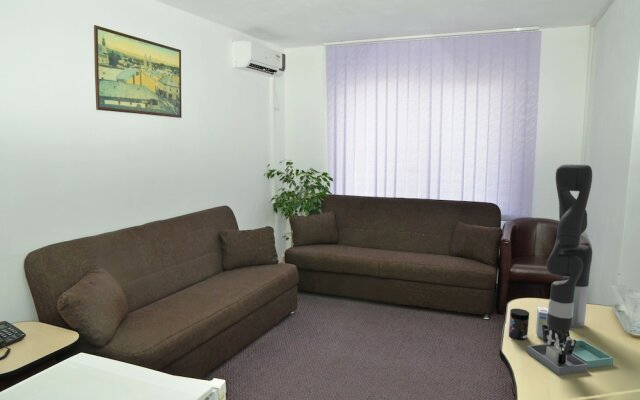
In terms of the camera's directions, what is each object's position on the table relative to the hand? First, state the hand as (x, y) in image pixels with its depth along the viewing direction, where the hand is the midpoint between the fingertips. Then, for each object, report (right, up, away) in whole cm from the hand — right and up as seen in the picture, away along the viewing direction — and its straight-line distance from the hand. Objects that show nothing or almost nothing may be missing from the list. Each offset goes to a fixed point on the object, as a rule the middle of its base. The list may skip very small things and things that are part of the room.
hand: (556, 359), depth 161 cm
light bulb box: (+8, +2, +20) cm, 22 cm away
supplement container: (-5, +2, +19) cm, 20 cm away
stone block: (0, -1, 0) cm, 1 cm away
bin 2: (+12, -1, +4) cm, 12 cm away
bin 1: (0, -1, 0) cm, 1 cm away
